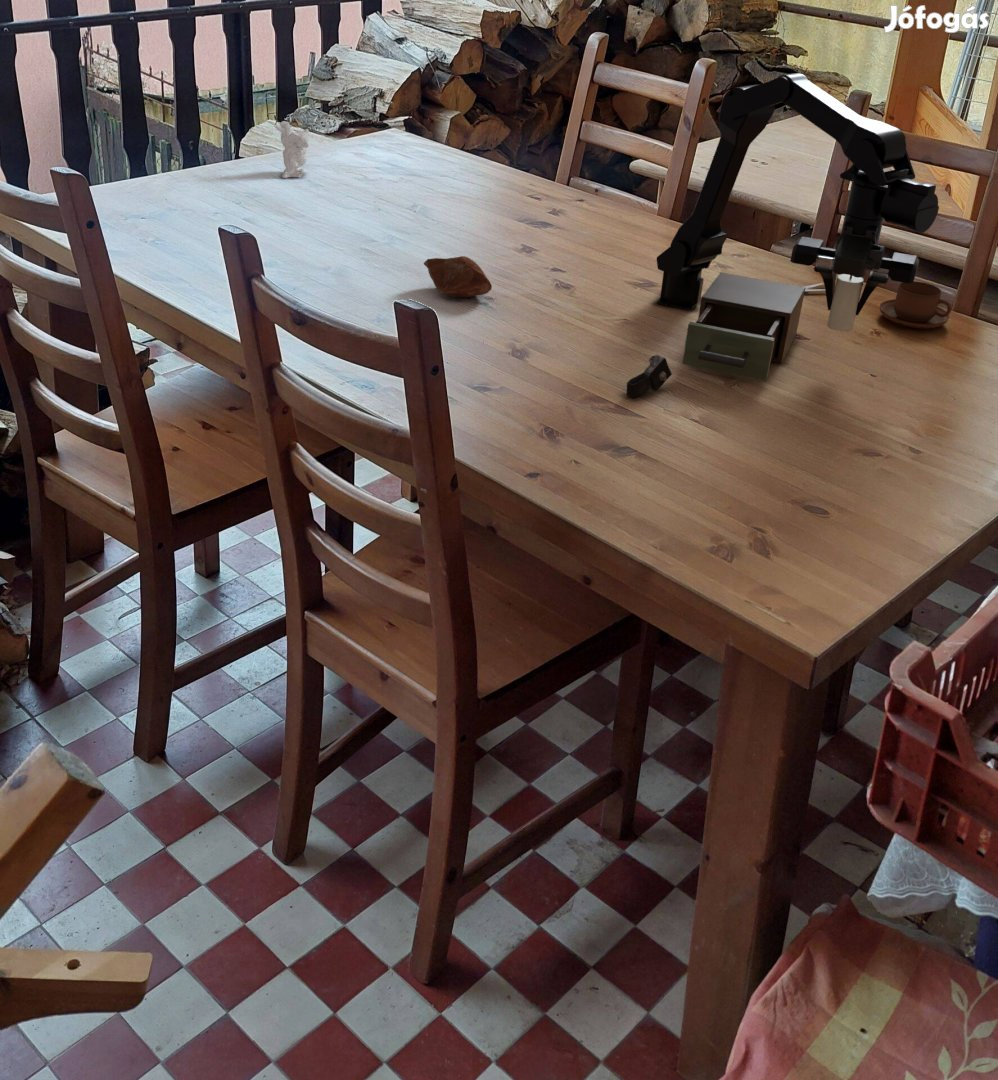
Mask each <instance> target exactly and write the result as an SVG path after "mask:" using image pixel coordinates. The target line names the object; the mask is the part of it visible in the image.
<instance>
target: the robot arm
mask: <svg viewBox="0 0 998 1080" xmlns="http://www.w3.org/2000/svg"><path fill="white" fill-rule="evenodd" d="M784 107H789V108H790V109H791V110H792V111H794V112H795V113H797V114H799V115H800V116H801V117H802V118H804V119H806V120H807V121H809V122H810V123H811V124H812V125H813V126H815V127H817V128H818V129H820V130H821V131H822V132H824V133H826V134H827V136H830V137H831V138H833V140H835V141H836V142H837V143H838V144H839V145H840V148H841V150H842V153H843V156H845V157H846V158H847V159H848V161H850V162H851V163H852V164H851V166H850V167H849V168H848V169H846V170H845V171H843V172H841V173H840V174H839V178H840V179H842V180H846V181H848V182H851V184H850V189H849V194H848V198H847V204H846V208H845V213H844V217H843V222H842V225H841V226H842V227H841V231H840V235H839V238H838V239H837V241H836V244H835V248H830V247H825V246H824V239H819V238H814V237H813V238H812V237H807V236H801V237H800V238H798V239H797V240H796V242H795V244H794V245H793V247H792V251H791V254H790V255H791V256H790V260H789V262H791V264H797V265H804V266H807V267H811V266H812V265H813V264H815V265H814V267H813V271H814V272H815V273H819V275H820V276H821V278H822V281H823V282H822V283H824V284H823V285H824V289H825V291H824V292H825V297H826V298H825V299H826V305H827V310H828V311H830V309H831V305H832V300H833V295H834V291H835V286H836V281H837V275H840V274H847V275H852V276H854V277H858V278H860V277H861V278H863V277H865V276H866V273H867V271H870V272H869V275H868V277H867V279H866V283H865V285H864V287H863V290H862V292H861V294H860V299H859V303H858V306H857V310H856V316H859V315H860V313H861V311H862V310H863V308H864V306H865V304H866V302H867V301H868V299H869V298H870V296H871V295H872V294H873V292H874V291H875V289H877V287H878V286H879V285H881V284H882V285H886V284H888V282H889V279H890V280H891V281H893V282H898V283H902V282H904V283H913V282H914V281H915V278H916V276H917V273H918V268H919V264H920V258H918V256H917V255H913V254H908V253H903V252H896V251H894V252H893V255H892V258H889V257H884V254H885V246H884V245H879V240H880V236H881V233H882V228H883V224H884V221H885V223H887V224H891V225H894V226H897V227H900V228H903V229H907V230H909V231H913V232H916V233H917V234H918V233H919V234H924V233H925V232H927V231H928V230H929V229H930V228H931V227H932V226H933V224H934V223H935V220H936V218H937V217H938V213H939V210H940V206H939V198H938V195H937V194H936V193H935V192H936V189H937V185H936V184H933V183H930V182H921V181H918V180H914V179H916V173H915V170H914V168H913V164H912V162H911V159H910V156H909V153H908V150H907V141H906V140H907V138H906V135H905V133H904V132H903V131H902V130H901V129H899V128H898V127H896V126H893V125H891V124H889V123H886V122H884V121H880V120H876V119H872V118H868V117H865V116H863V115H861V114H858V113H857V112H855V111H854V110H853V109H852V108H850V107H848V106H847V105H845V104H844V103H842V102H841V101H839V100H838V99H836V98H835V97H834V96H832V95H830V94H829V93H827V92H826V91H825V90H823V89H821V88H820V87H819V86H818V85H816V84H814V83H813V82H812V81H810V80H809V78H808V77H807V76H806V75H805V74H803V73H801V72H795V73H788V74H781V75H779V76H777V77H776V78H774V79H770V80H768V81H766V82H763V83H760V84H751V85H744V86H737V87H733V88H731V89H729V90H727V91H726V92H725V94H724V95H723V97H722V101H721V106H720V110H719V114H718V126H719V131H720V133H719V134H720V136H719V137H720V138H719V140H718V144H717V145H716V149H715V151H714V155H713V156H712V160H711V163H710V165H709V168H708V170H707V173H706V176H705V179H704V182H703V184H702V187H701V190H700V192H699V195H698V198H697V200H696V204H695V207H694V209H693V211H692V213H691V215H690V216H689V217H688V218H687V219H686V220H685V221H684V222H683V223H682V224H681V225H680V226H679V227H678V229H677V231H676V233H675V235H674V237H673V238H672V240H671V242H670V246H669V247H667V249H665V250H664V251H662V253H660V254H659V255H657V256H656V266H657V270H659V271H661V272H663V273H662V281H661V289H660V295H659V298H658V299H657V300H656V303H657V304H659V305H664V306H668V307H673V308H679V309H685V310H690V311H691V310H693V309H694V308H695V306H696V305H698V304H699V303H700V302H701V298H702V294H703V287H704V281H705V280H704V277H702V272H703V270H704V269H706V270H707V269H709V267H710V265H711V263H712V261H714V260H715V259H717V257H718V256H719V255H722V254H723V247H724V244H725V242H726V240H727V239H728V234H727V233H725V232H724V231H723V229H722V224H721V221H722V217H723V215H724V213H725V210H726V207H727V204H728V201H729V200H730V197H731V194H732V191H733V189H734V186H735V183H736V181H737V179H738V175H739V174H740V170H741V168H742V166H743V163H744V160H745V158H746V155H747V153H748V150H749V147H750V145H751V144H752V143H753V141H755V139H757V137H758V136H759V135H760V134H761V133H762V132H763V131H764V130H765V128H766V127H767V125H768V123H769V122H770V120H771V118H772V116H773V114H774V113H775V111H777V110H779V109H782V108H784ZM890 168H893V169H892V170H887V171H885V169H890Z"/></svg>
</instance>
